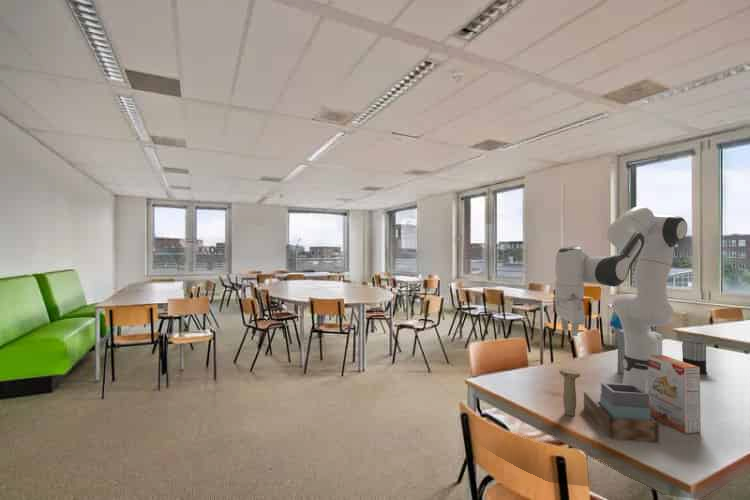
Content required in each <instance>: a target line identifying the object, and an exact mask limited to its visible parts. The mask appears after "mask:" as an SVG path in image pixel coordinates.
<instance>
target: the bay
mask: <svg viewBox="0 0 750 500" xmlns="http://www.w3.org/2000/svg"><path fill="white" fill-rule="evenodd" d="M583 410H585V412H586V413H587V415H589V416H590V417H591V418H592V420H593V422H595V423H596V425H597V426H598V427H599V428H600V429H601V430H602V431H603V433H604V434H605V435H606V436H607V438H608V439H611V440H618V441H621V440H622V441H632V442H645V443H654V444H659V443H660V442H659V439H660V438H659V437H660V436H659V421H657V419H656V418H655V419H654V417H653V416H651V415H650V421H649V420H636V419H623V418H612V417H611V416H610V415H609V414H608V413H607V412H606V411H605V410H604V409H603V408H602V407H601V406H600V401H597V400H595V399H594V398H593V397H592V396H591V395H590V393H588V392H587V391H585V392H583Z"/></svg>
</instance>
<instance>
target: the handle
mask: <svg viewBox="0 0 750 500" xmlns="http://www.w3.org/2000/svg"><path fill="white" fill-rule="evenodd" d="M559 374H560V375H561V376H562V377H563V395H562V396H563V399H562V400H563V408H564V409H563V411H564V414H566V415H567V416H571V417H573V416H575V415H576V408H577V392H576V390H577V389H576V379H578V378H580V376H581V372H580V371H577V370H575V369H570V368H560V369H559Z"/></svg>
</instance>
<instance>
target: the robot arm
mask: <svg viewBox="0 0 750 500" xmlns="http://www.w3.org/2000/svg"><path fill="white" fill-rule="evenodd" d="M687 233H688V224H687V222H686V220H685V219H684V217H682V216H677V215H674V214H671V215H667V214H665V215H664V214H656V213H654V212H653V211H652V209H649V208H648V207H645V206H639V205H638V206H634V207H631V208H629V209H628V210H627V211H625V212H624V213H622V214H621V215H620V216H619V217H617V218H616V219H615V220H614V221H613V222H612V223H611V224H610V225H609V227H608V229H607V231H606V236H607V238H608V241H609V242H610V244H611V245H612V246H614V247H615V248H616V249H618V250H617V252H616V253H615V254H613V255H609V256H608V255H607V256H594V255H593V256H591V255H588V254H587V253H585V252H584V251H583V250H582V247H580V246H566V247H562V248H560V249H558V250H557V251H556V256H555V257H556V258H555V264H554V265H555V271H554V272H555V276H556V280H555V283H554V284H555V285H554V287H555V288H554V289H553V293H552V294H553V296H554V307H555V314H556V315H557V316H558V317H560V322H561V329H562V330H563V331H569V327H570V325H571V327H570V331H569V332H570V333H569V334H570V336H572V337H577V336H578V333H579V332H578V331H579V328H580V325H584V324H585V322H586V312H585V311H586V310H585V303H584V302H583V301H582V300H584V299H585V290H584V288H585V285H584V283H585V284H593V285H602V286H608V287H612V288H613V287H614V288H615V287H619V286H620V285H621V284H623V283H624V282H625V281H626V279H627V278H628V275H629V272H630V269H631V267H632V266H633V265H634V263H635V261H636V260H637V259H638V260H637V262H636V266H635V269H634V273H633V277H632V278H633V281H634V282H635V283H636V288H637V289H636V290H637V293H636V294H633V293H627V294H620V295H617V296H616V297H615V298H614V299H613V301H612V309H613V312H614V313H615V314H616V315H617V317H618V319H619V322H620V325H621V328H622V330H623V332H624V339H625V354H624V360H623V365H624V375H622V376H623V377H622V381H621V384H629V385H636V386H637V387H639V388H640V389H642V390H643V391H645V392H646V393H647V394H648V356H649V355H658V339H657V337H656V336H655V335H654V333H653V332H654V331H652V328H651V327H652V326H653V327H661V326H666V325H669V324H670V323H671V322H672V321H673V318H674V315H675V313H674V312H675V311H674V308H673V306H672V305H671V304H670V302H669V299H668V295H667V283H668V280H669V275H670V272H671V268H672V265H673V260H674V254H675V253H674V252H675V246H676V245H678V244H680V242H681V243H682V241H683V240H684V239H685V237H686V236H687ZM568 323H570V325H569V324H568Z"/></svg>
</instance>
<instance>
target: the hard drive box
mask: <svg viewBox="0 0 750 500" xmlns="http://www.w3.org/2000/svg"><path fill="white" fill-rule="evenodd" d="M652 332H653V333H654V335H655V336H656V337H657V339H658V355H663V334H661V333H659V332H656V331H652ZM624 354H625V339H624V332H623V329H617V372H619V374H621V375H622V376H624V365H623V360H624Z"/></svg>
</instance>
